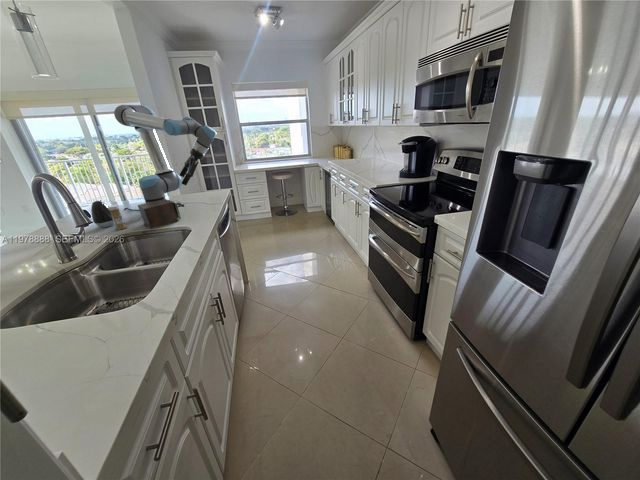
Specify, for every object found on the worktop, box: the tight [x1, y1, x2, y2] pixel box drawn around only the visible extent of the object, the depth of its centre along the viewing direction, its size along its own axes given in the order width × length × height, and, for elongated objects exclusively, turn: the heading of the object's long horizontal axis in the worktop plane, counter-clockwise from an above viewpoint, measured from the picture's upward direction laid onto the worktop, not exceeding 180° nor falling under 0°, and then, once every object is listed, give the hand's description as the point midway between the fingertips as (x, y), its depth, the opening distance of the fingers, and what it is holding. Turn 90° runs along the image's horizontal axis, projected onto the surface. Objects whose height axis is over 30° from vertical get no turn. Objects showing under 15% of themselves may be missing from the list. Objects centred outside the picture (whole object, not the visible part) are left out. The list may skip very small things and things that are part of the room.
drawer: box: [167, 199, 185, 220], centre depth 153 cm, size 18×11×10 cm, turn 137°
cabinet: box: [137, 198, 179, 229], centre depth 149 cm, size 15×13×12 cm
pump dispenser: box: [90, 199, 115, 228], centre depth 148 cm, size 10×10×15 cm
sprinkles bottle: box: [107, 204, 127, 231], centre depth 143 cm, size 5×5×13 cm
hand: (182, 180), depth 159 cm, fingers open, 13 cm apart
